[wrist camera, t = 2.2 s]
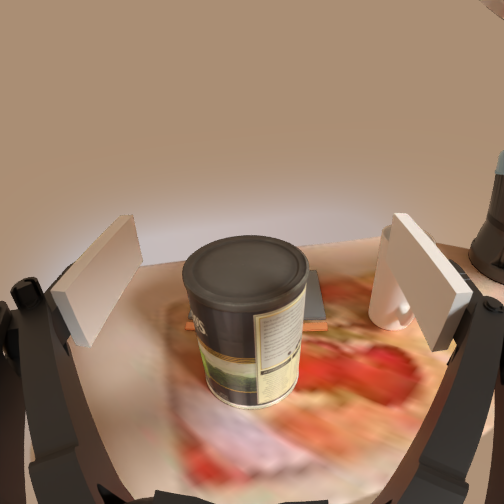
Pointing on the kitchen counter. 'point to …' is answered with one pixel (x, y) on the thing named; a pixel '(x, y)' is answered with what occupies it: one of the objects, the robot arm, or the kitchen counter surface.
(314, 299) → the mat
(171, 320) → the kitchen counter surface
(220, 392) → the coffee can
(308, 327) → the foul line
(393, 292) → the mug
